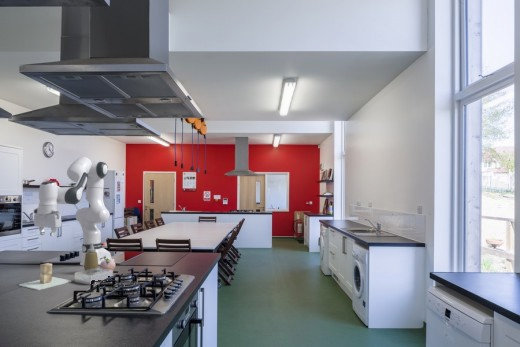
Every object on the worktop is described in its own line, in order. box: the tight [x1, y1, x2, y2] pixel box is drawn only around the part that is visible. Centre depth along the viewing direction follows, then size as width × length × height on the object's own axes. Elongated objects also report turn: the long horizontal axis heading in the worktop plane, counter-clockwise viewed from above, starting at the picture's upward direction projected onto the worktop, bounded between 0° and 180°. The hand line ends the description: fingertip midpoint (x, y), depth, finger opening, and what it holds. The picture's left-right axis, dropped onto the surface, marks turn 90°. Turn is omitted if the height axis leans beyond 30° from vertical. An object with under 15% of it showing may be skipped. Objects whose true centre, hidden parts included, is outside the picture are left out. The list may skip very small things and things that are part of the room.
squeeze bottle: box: [83, 243, 99, 270], centre depth 210 cm, size 8×8×18 cm
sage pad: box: [18, 276, 73, 291], centre depth 185 cm, size 18×18×1 cm
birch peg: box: [39, 262, 53, 284], centre depth 185 cm, size 4×4×10 cm
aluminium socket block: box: [74, 267, 114, 286], centre depth 192 cm, size 14×14×5 cm
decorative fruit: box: [99, 258, 116, 271], centre depth 206 cm, size 9×8×10 cm
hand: (47, 235), depth 186 cm, fingers open, 8 cm apart
